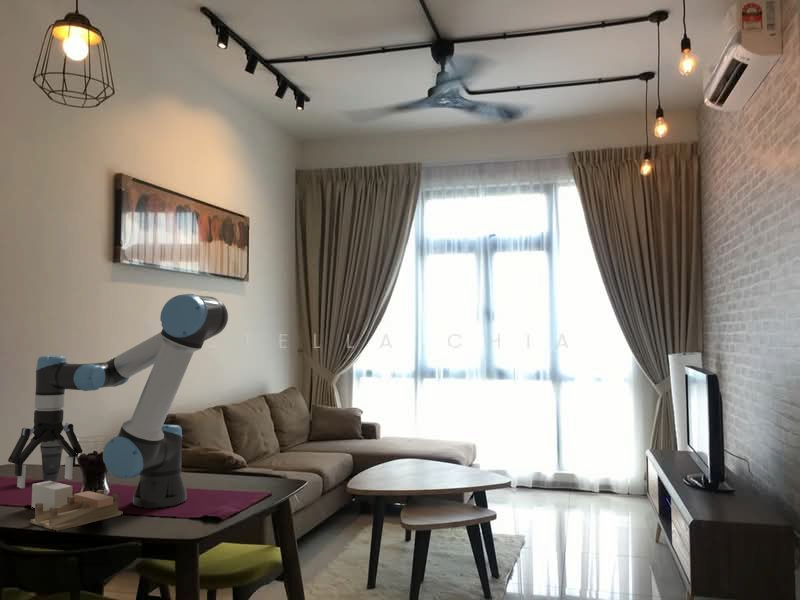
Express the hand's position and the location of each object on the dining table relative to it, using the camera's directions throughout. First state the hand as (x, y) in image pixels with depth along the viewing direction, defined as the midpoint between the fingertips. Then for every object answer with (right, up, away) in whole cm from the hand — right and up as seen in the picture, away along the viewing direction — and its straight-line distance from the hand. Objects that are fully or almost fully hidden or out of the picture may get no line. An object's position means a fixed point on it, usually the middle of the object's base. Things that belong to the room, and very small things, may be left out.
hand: (45, 483), depth 186 cm
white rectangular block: (+3, -7, -2) cm, 8 cm away
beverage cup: (-17, -9, +35) cm, 40 cm away
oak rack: (+15, -7, -11) cm, 20 cm away
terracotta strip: (+17, -3, -7) cm, 19 cm away
